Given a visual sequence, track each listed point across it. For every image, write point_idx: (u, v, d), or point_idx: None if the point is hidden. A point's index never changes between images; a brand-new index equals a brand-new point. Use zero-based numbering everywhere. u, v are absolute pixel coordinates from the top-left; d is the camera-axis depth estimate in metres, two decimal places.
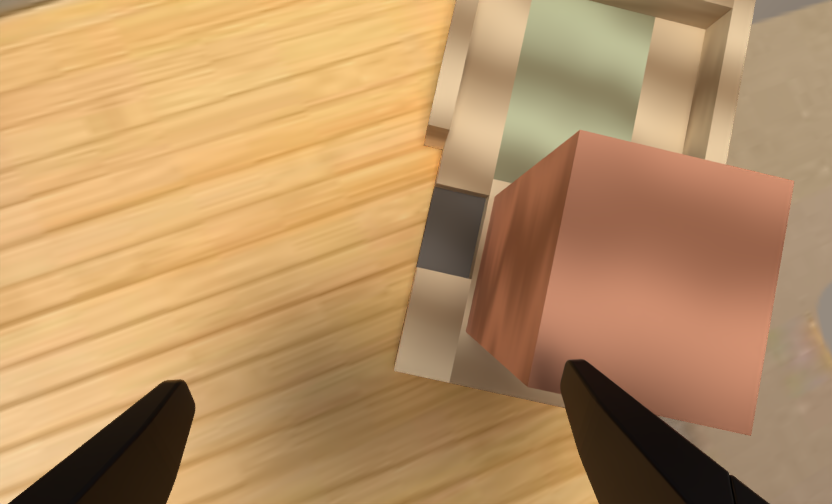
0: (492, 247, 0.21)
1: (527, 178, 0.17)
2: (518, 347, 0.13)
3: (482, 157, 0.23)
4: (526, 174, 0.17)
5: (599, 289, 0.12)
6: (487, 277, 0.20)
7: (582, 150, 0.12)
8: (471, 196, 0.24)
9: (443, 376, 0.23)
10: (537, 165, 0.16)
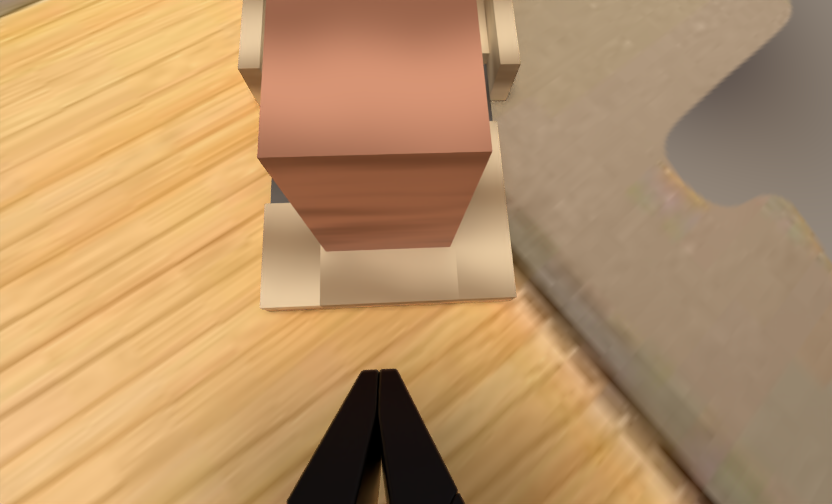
0: None
1: None
2: None
3: None
4: None
5: (312, 61, 0.13)
6: None
7: None
8: None
9: (312, 300, 0.22)
10: None
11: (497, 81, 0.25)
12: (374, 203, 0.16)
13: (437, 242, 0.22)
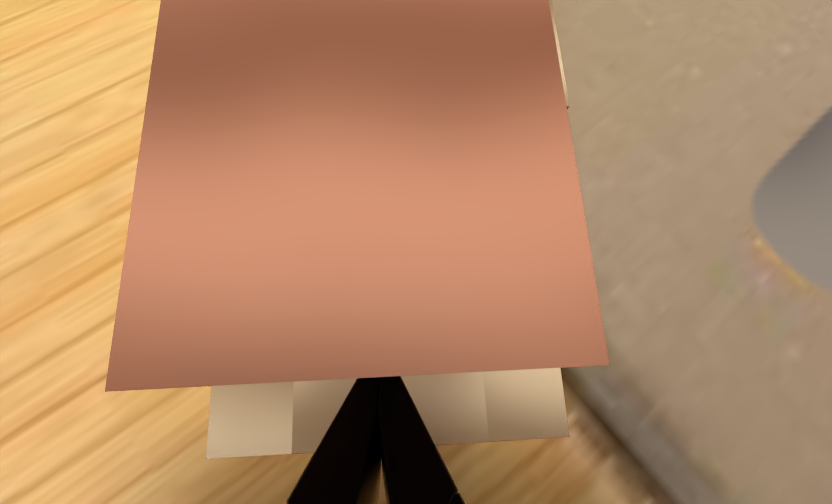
0: None
1: None
2: None
3: None
4: None
5: (238, 165, 0.06)
6: None
7: None
8: None
9: (281, 446, 0.15)
10: None
11: None
12: None
13: None
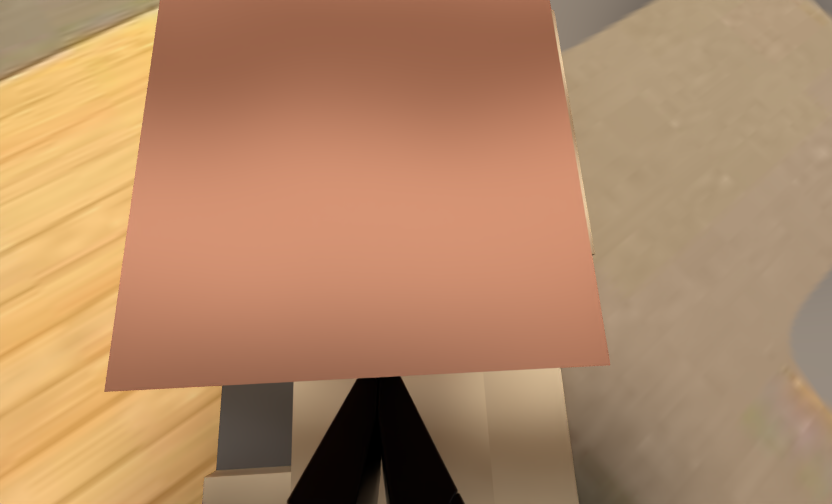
0: None
1: None
2: None
3: None
4: None
5: (237, 164, 0.06)
6: None
7: None
8: None
9: None
10: None
11: None
12: None
13: None
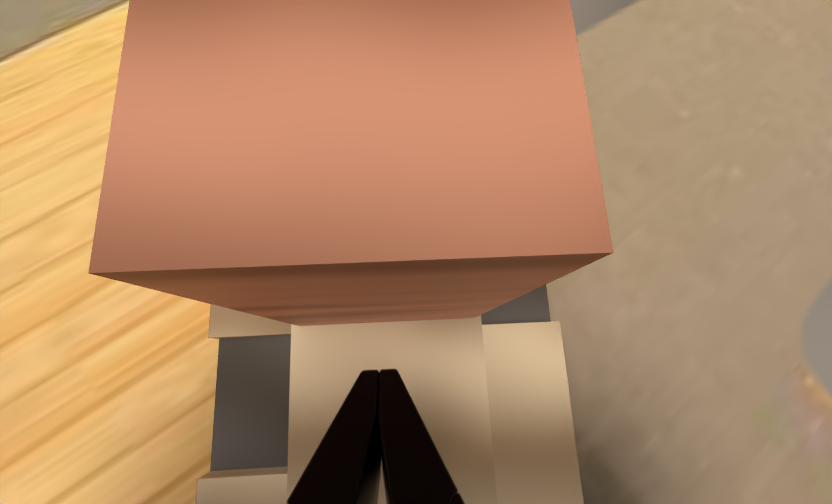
0: None
1: None
2: None
3: None
4: None
5: (227, 54, 0.06)
6: None
7: None
8: (276, 337, 0.17)
9: None
10: None
11: None
12: (362, 300, 0.09)
13: (457, 316, 0.15)
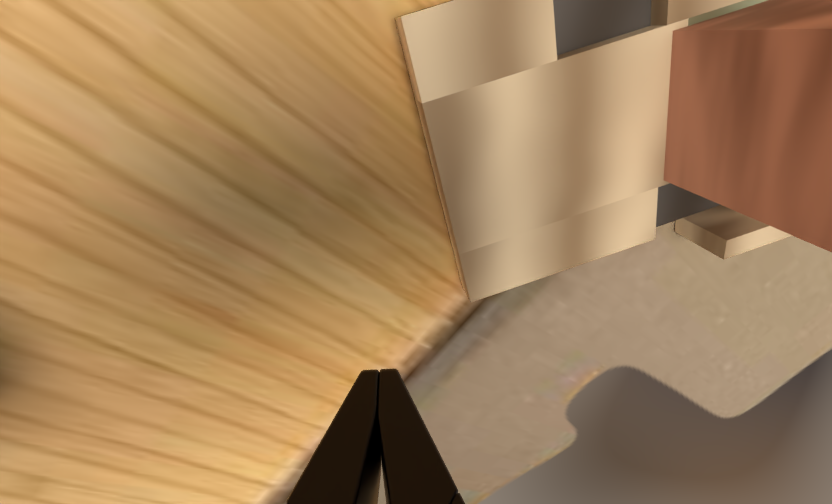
0: None
1: None
2: None
3: None
4: None
5: None
6: (804, 4, 0.15)
7: None
8: (649, 3, 0.17)
9: (425, 91, 0.16)
10: None
11: (702, 231, 0.22)
12: None
13: (679, 171, 0.19)
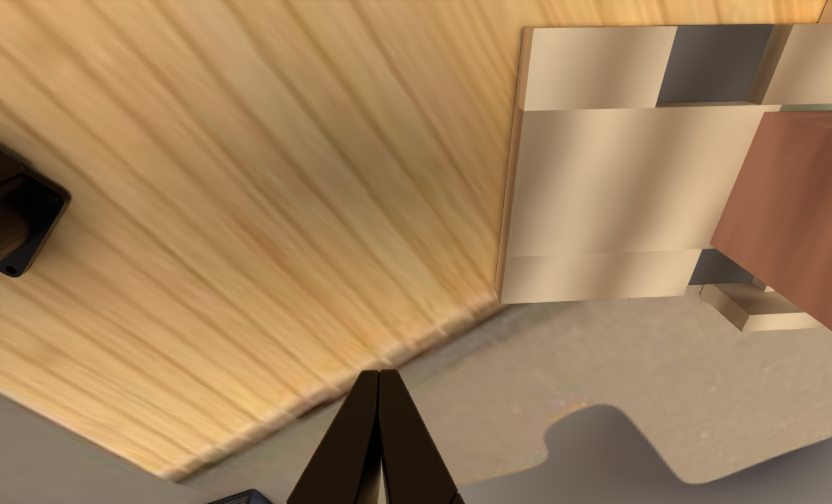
0: None
1: None
2: None
3: (814, 83, 0.18)
4: None
5: None
6: None
7: None
8: (750, 81, 0.19)
9: (531, 101, 0.18)
10: None
11: (728, 300, 0.24)
12: None
13: (728, 239, 0.21)
